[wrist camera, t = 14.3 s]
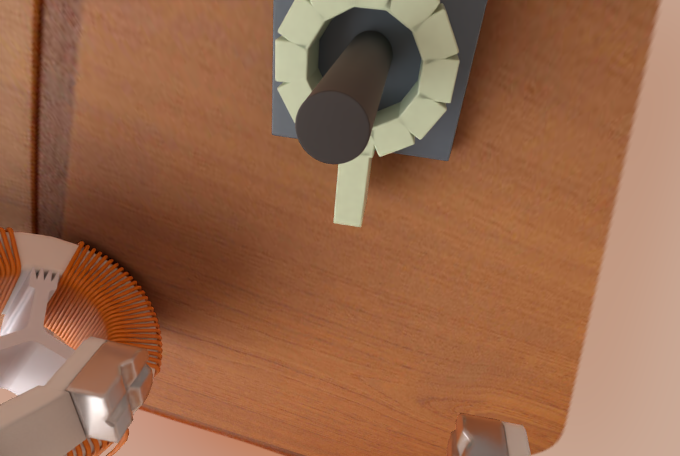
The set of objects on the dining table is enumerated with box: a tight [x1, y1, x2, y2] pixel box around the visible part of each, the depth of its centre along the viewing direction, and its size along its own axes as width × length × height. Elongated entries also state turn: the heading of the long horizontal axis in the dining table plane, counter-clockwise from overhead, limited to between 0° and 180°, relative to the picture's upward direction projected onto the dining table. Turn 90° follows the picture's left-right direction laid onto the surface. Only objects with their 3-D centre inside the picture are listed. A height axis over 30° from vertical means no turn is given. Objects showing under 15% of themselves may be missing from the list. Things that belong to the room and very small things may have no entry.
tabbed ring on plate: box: [275, 0, 460, 227], centre depth 20 cm, size 7×11×2 cm
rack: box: [272, 0, 488, 164], centre depth 16 cm, size 9×9×11 cm
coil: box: [0, 227, 162, 456], centre depth 26 cm, size 7×15×15 cm, turn 49°
